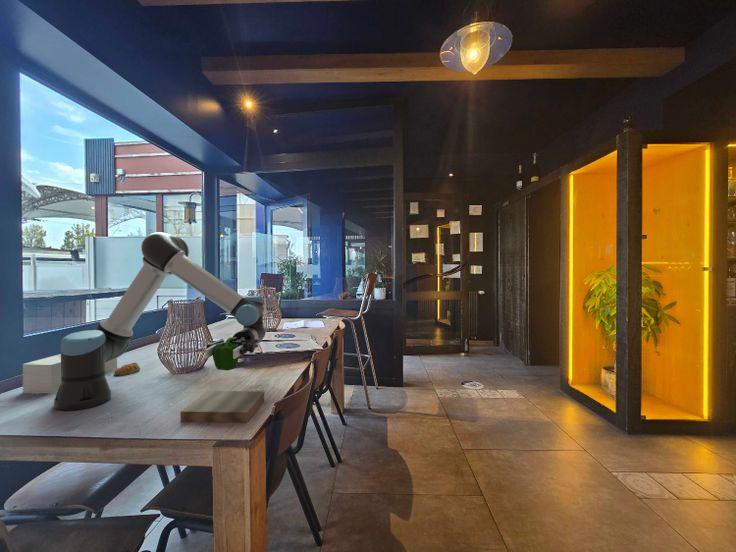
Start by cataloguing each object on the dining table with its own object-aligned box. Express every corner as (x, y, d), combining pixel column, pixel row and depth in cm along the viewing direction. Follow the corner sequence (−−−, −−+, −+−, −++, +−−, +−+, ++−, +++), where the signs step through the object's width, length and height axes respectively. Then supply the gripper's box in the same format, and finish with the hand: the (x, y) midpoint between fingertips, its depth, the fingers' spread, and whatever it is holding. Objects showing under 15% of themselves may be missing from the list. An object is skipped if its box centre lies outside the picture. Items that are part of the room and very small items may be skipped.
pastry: (121, 377, 148) (121, 368, 148) (109, 376, 150) (109, 367, 150) (141, 371, 157) (141, 362, 157) (130, 370, 159) (130, 361, 159)
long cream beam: (94, 368, 160) (94, 345, 160) (117, 369, 160) (117, 345, 160) (22, 393, 128) (22, 364, 128) (51, 394, 128) (51, 364, 128)
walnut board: (180, 421, 107) (180, 411, 107) (207, 399, 125) (207, 390, 125) (247, 422, 107) (247, 412, 107) (264, 400, 125) (264, 391, 125)
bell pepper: (218, 374, 110) (218, 342, 109) (208, 368, 116) (208, 338, 115) (244, 369, 115) (244, 338, 115) (234, 364, 121) (234, 334, 121)
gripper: (272, 349, 134) (253, 366, 111) (217, 349, 133) (186, 365, 111) (273, 329, 133) (253, 342, 111) (217, 329, 133) (186, 341, 111)
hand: (220, 354), depth 111 cm, fingers closed on bell pepper, 8 cm apart
